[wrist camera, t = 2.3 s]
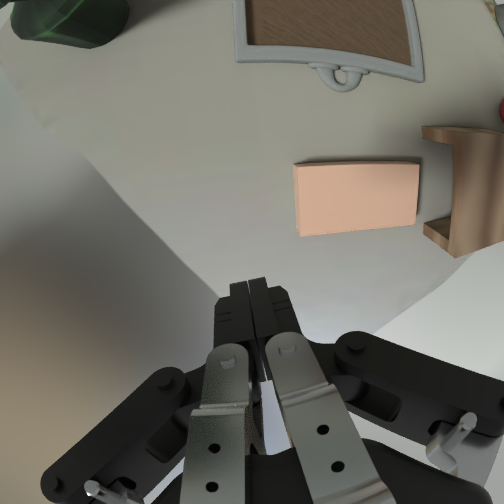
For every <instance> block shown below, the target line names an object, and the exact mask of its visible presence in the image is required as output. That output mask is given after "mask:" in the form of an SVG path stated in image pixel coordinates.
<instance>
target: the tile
mask: <svg viewBox="0 0 504 504" xmlns="http://www.w3.org/2000/svg"><path fill="white" fill-rule="evenodd" d="M293 172H294V189H295V208H296V229H297V231H298V233H299V234H300V236H310V235H319V234H328V233H338V232H347V231H356V230H366V229H376V228H385V227H395V226H405V225H415V218H416V209H417V198H418V184H419V165H418V164H415V163H412V162H403V161H349V162H321V163H303V164H293Z"/></svg>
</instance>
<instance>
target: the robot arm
mask: <svg viewBox="0 0 504 504" xmlns="http://www.w3.org/2000/svg"><path fill="white" fill-rule="evenodd" d="M495 13H496V18H497V21H498V24H499V26H500V28H501V31H502V33H503V35H504V4H499V5H496V7H495ZM248 284H249V288H248ZM249 290H250V292H249ZM214 314H215V317H214V348H213V350H212V351H211V352H210V354H209V355H208V357H207V360H206V363H205V364H204V365H203V366H201V367H199V368H197V369H195V370H192V371H190V372H187V373H185V374H184V373H183V372H182V371H181V370H180V369H178V368H175V367H165V368H162V369H159V370H157V371H156V372H154V373H153V374H152V375H151V376H150V377H149V378H148V379H147V380H145V381H144V383H142V384H141V385H140V386H139V387H138V388H137V389H136V390H135V391H134V392H133V393H132V394H130V396H128V397H127V398H126V399H125V400H124V401H123V402H122V403H121V404H120V405H118V406H117V407H116V408H115V409H114V410H113V411H112V412H111V413H110V414H109V415H108V416H106V418H104V419H103V420H102V421H101V422H100V423H99V424H98V425H97V426H96V427H94V428H93V429H92V430H91V431H90V432H89V433H88V434H87V435H86V436H84V437H83V438H82V439H81V440H80V441H79V442H78V443H76V444H75V445H74V446H73V447H72V448H71V449H70V450H68V451H67V452H66V453H65V454H64V455H63V456H62V457H61V458H59V459H58V460H57V461H56V462H55V463H54V464H53V465H51V466H50V467H49V468H48V469H47V470H46V471H45V472H44V473H43V475H42V478H41V484H40V485H41V490H42V493H43V494H44V496H45V497H46V498H47V499H48V500H49V501H51V502H53V503H55V504H144V500H143V498H144V497H145V496H146V495H147V494H148V493H150V491H152V490H153V489H154V488H155V486H157V484H159V483H160V482H161V481H162V479H164V477H166V475H168V474H169V472H170V471H171V470H172V469H173V468H174V467H175V466H176V465H177V464H178V463H179V462H180V461H181V460H182V459H183V458H184V457H185V460H184V469H183V472H182V473H181V474H179V475H178V476H177V477H176V478H175V479H174V480H173V481H172V482H171V483H170V484H169V485H168V486H167V487H166V488H165V489H164V490H163V492H162V493H161V494H160V495H159V496H158V497H157V498H156V499H155V500H154V501H153V502H152V503H151V504H493V503H492V500H491V497H490V495H489V493H488V492H487V491H486V490H485V489H484V488H483V487H484V485H485V483H486V481H487V478H488V476H489V474H490V471H491V469H492V466H493V464H494V461H495V458H496V455H497V453H498V450H499V447H500V444H501V441H502V437H503V435H504V381H501V380H498V379H495V378H492V377H489V376H486V375H482V374H479V373H476V372H473V371H470V370H467V369H465V368H462V367H459V366H456V365H453V364H450V363H447V362H444V361H441V360H439V359H436V358H433V357H430V356H427V355H425V354H422V353H419V352H416V351H414V350H411V349H408V348H405V347H403V346H400V345H397V344H395V343H392V342H389V341H387V340H384V339H381V338H379V337H376V336H374V335H371V334H369V333H366V332H362V331H352V332H348V333H345V334H343V335H342V336H340V337H339V338H338V340H337V341H336V343H335V344H321V343H315V342H312V341H310V340H308V339H307V338H306V337H304V335H303V334H302V332H301V329H300V326H299V323H298V321H297V318H296V315H295V312H294V309H293V307H292V304H291V301H290V298H289V295H288V292H287V291H286V290H285V289H283V288H282V287H281V286H276V287H271V288H268V287H267V283H266V279H265V277H261V278H256V279H252V280H248V283H247V281H242V282H237V283H232V284H230V296H227V297H222V298H219V300H218V302H217V303H216V305H215V313H214ZM263 364H264V366H263ZM264 368H265V372H266V375H267V379H268V381H269V380H272V381H273V385H274V389H275V393H276V397H277V401H278V404H279V408H280V411H281V414H282V418H283V421H284V425H285V428H286V431H287V434H288V438H289V441H290V445H291V448H289V449H287V450H285V451H282V452H280V453H278V454H275V455H267V453H266V448H265V442H264V428H263V408H262V397H261V394H262V393H261V385H260V382H264V381H266V378H265V372H264ZM348 411H350V412H352V413H354V414H356V415H358V416H360V417H362V418H364V419H366V420H368V421H370V422H372V423H374V424H376V425H379V426H381V427H383V428H385V429H387V430H389V431H391V432H394V433H396V434H398V435H400V436H403V437H405V438H407V439H410V440H412V441H415V442H417V443H420V444H422V445H425V446H426V456H427V458H428V459H429V461H430V462H431V463H432V464H434V465H436V466H437V467H439V468H440V470H438V469H436V468H434V467H431V466H429V465H427V464H424V463H422V462H420V461H417V460H415V459H413V458H411V457H409V456H407V455H405V454H403V453H400V452H398V451H396V450H394V449H392V448H390V447H388V446H386V445H384V444H382V443H380V442H377V441H374V440H370V439H364V438H361V437H360V435H359V433H358V431H357V429H356V427H355V425H354V423H353V421H352V419H351V417H350V415H349V412H348Z"/></svg>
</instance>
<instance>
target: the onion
mask: <svg viewBox="0 0 504 504" xmlns="http://www.w3.org/2000/svg"><path fill="white" fill-rule="evenodd" d="M500 114H501V117H502V120H503V122H504V100H503V102H502V104H501V107H500Z"/></svg>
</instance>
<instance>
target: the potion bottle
mask: <svg viewBox="0 0 504 504" xmlns="http://www.w3.org/2000/svg"><path fill="white" fill-rule="evenodd" d="M9 2H14V5H13V9H12V12H11V15H10V19H11V27H12V29H13V31H14V33H15V34H16V35H17V36H18V37H19V38H20V39H24V40H34V41H43V42H50V43H57V44H63V45H69V46H74V47H79V48H87V49H91V48H95V47H99V46H102V45H103V44H105V43H106V42H108V41H109V40H111V39H112V38H113V37H114V36H115V35H116V34H117V33H118V32H119V31H120V30H121V29H122V27H123V26H124V24H125V22H126V20H127V18H128V12H129V7H128V4H127V2H126V0H0V9H1V8H3V7H4V6H6V4H7V3H9Z"/></svg>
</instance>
